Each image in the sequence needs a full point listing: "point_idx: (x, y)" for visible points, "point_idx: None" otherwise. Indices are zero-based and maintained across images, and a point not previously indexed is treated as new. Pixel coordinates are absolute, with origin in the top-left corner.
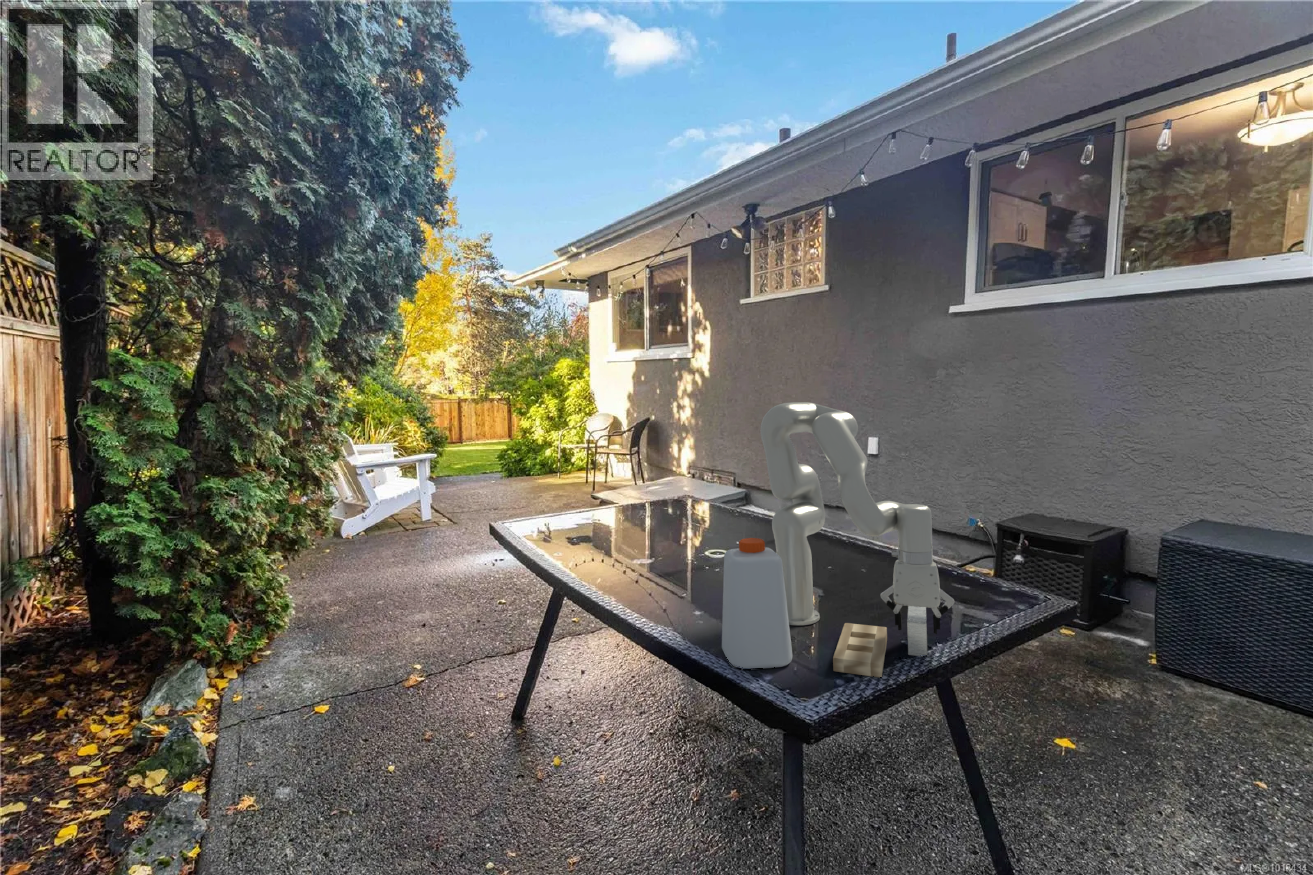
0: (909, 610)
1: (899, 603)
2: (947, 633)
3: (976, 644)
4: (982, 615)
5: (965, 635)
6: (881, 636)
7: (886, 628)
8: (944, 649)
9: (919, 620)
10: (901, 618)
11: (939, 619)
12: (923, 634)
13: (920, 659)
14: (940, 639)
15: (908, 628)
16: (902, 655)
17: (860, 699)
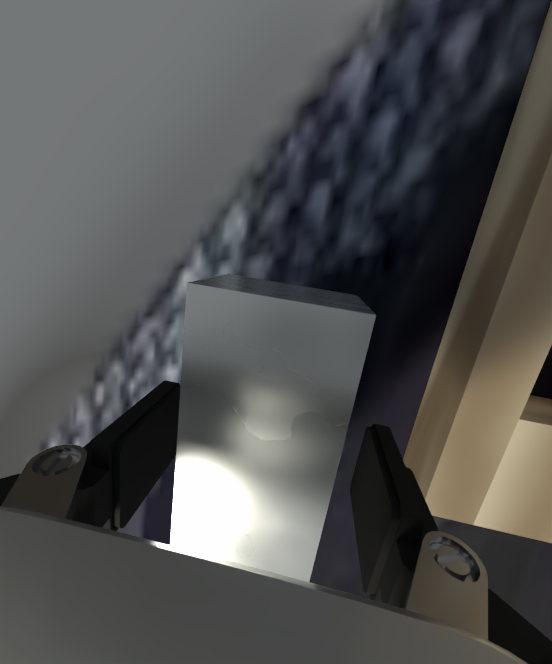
0: None
1: (504, 658)
2: (154, 521)
3: (67, 433)
4: None
5: None
6: (493, 383)
7: (426, 497)
8: (178, 378)
9: (240, 386)
10: (359, 525)
11: (87, 447)
12: (244, 278)
13: (291, 255)
14: None
15: (356, 303)
16: (368, 290)
17: None
